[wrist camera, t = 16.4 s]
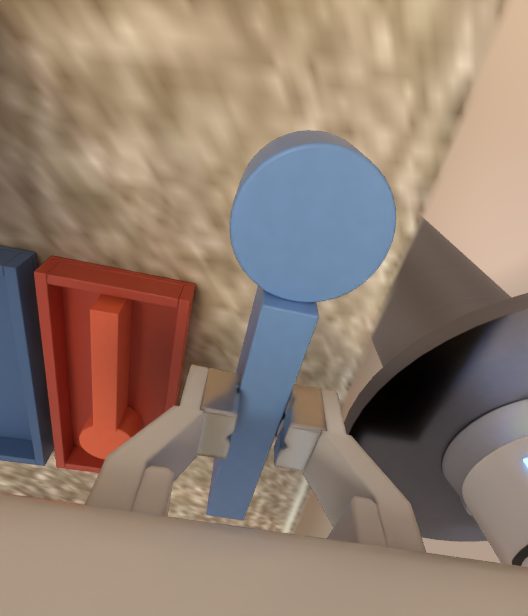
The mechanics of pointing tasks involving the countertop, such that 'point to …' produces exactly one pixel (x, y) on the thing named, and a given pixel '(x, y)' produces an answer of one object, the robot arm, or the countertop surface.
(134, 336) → the red tray
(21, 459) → the blue tray
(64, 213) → the countertop surface
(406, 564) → the robot arm
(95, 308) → the red spoon
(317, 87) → the countertop surface
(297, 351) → the blue spoon
